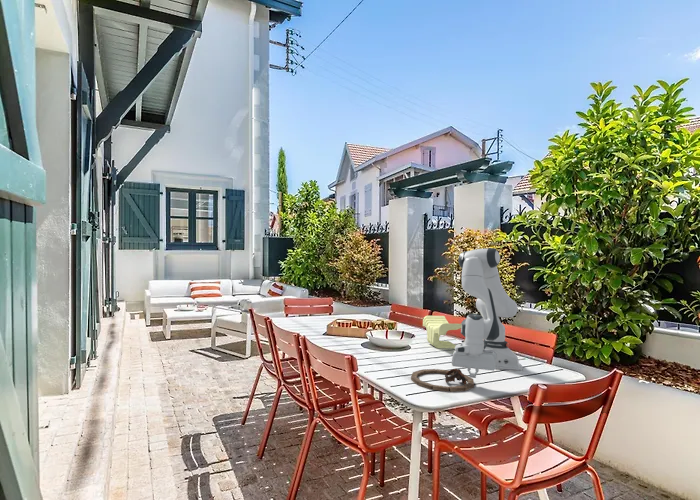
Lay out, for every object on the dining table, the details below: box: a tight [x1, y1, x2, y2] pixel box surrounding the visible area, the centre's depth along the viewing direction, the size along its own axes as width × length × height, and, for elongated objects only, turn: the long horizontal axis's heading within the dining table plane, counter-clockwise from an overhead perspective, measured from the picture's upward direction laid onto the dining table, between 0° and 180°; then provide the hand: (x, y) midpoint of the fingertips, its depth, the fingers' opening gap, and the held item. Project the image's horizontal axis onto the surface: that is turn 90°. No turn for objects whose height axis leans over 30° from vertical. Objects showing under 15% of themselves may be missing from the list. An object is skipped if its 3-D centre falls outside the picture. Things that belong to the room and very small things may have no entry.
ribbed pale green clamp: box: [422, 315, 461, 349], centre depth 280 cm, size 30×16×18 cm, turn 10°
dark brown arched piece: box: [444, 368, 467, 385], centre depth 201 cm, size 12×9×8 cm
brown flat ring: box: [410, 368, 475, 393], centre depth 203 cm, size 30×30×2 cm
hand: (472, 377), depth 199 cm, fingers closed
